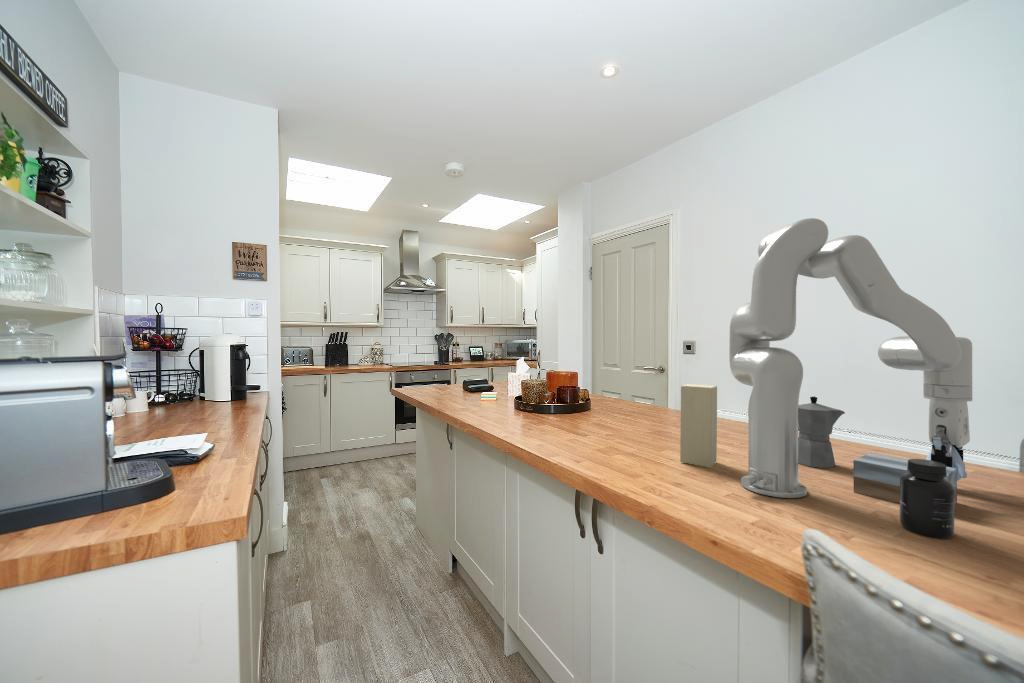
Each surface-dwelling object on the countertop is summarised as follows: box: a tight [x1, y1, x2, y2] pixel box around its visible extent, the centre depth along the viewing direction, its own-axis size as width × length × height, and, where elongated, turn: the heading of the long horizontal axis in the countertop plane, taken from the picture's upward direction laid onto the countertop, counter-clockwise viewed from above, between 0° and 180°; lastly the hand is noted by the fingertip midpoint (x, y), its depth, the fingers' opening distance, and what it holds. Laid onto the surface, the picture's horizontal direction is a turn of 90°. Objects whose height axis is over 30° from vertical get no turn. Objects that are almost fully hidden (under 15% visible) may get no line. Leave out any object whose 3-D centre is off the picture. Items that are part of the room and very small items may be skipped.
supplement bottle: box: [899, 458, 956, 540], centre depth 73 cm, size 7×7×12 cm
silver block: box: [853, 452, 958, 505], centre depth 88 cm, size 10×14×7 cm
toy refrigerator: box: [679, 383, 718, 468], centre depth 114 cm, size 8×7×21 cm
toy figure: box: [925, 446, 968, 482], centre depth 93 cm, size 11×6×12 cm, turn 171°
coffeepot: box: [798, 396, 846, 469], centre depth 113 cm, size 15×9×18 cm, turn 44°
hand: (947, 469), depth 93 cm, fingers open, 9 cm apart
